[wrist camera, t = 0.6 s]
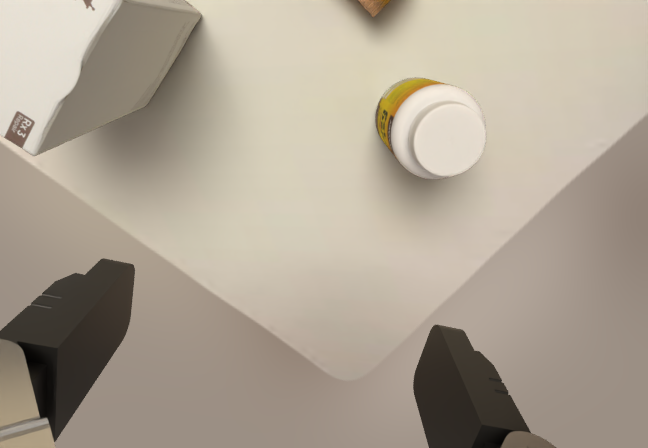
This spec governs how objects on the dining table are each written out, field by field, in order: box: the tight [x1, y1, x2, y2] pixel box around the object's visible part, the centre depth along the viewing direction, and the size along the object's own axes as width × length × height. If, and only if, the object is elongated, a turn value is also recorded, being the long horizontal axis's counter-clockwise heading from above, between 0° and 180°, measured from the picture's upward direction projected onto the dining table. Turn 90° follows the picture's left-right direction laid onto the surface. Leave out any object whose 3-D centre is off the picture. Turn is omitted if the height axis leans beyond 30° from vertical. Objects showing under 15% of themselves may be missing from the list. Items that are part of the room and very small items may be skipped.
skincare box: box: [0, 0, 202, 156], centre depth 25 cm, size 8×6×15 cm
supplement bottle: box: [375, 77, 486, 179], centre depth 29 cm, size 6×6×10 cm
